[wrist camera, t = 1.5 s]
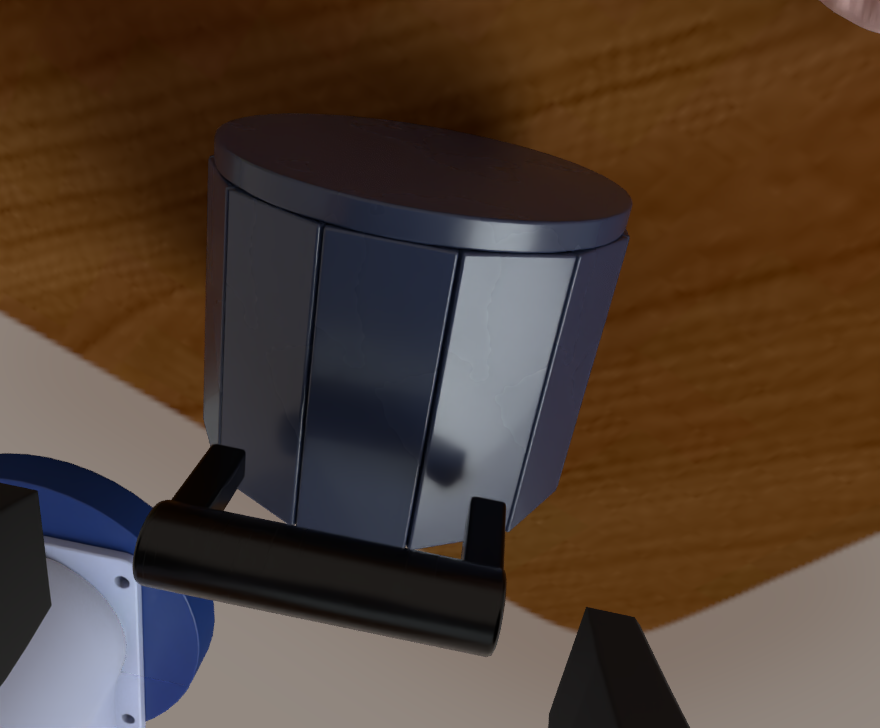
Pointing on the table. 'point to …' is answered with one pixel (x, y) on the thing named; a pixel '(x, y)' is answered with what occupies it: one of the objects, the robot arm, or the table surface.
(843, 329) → the table surface
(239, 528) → the pot
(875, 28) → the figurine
